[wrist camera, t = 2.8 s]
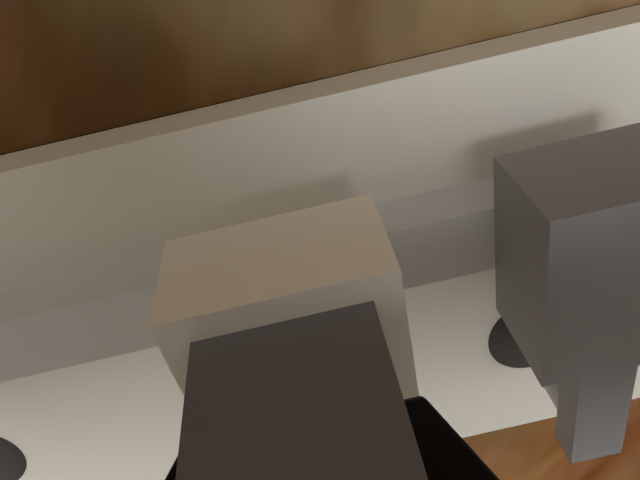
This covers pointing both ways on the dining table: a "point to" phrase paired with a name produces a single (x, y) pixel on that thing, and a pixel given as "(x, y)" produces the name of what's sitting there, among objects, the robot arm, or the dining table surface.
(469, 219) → the plate
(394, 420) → the block
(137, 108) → the dining table surface
